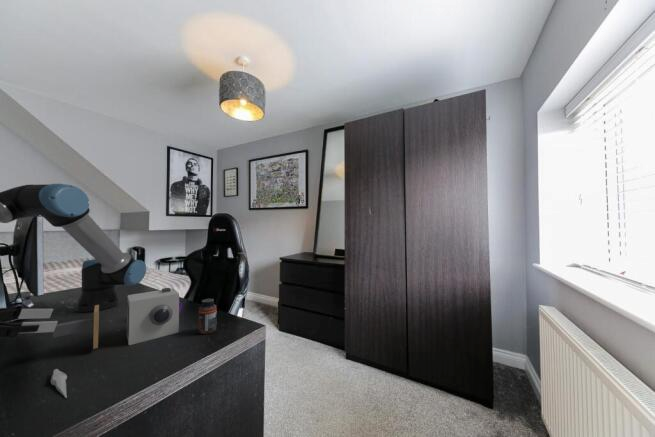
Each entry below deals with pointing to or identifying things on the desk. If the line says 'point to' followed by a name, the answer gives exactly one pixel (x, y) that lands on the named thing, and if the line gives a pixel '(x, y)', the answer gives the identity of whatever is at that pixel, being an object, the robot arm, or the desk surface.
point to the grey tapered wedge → (59, 381)
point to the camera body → (152, 315)
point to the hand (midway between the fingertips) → (53, 319)
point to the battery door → (80, 327)
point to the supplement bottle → (207, 317)
